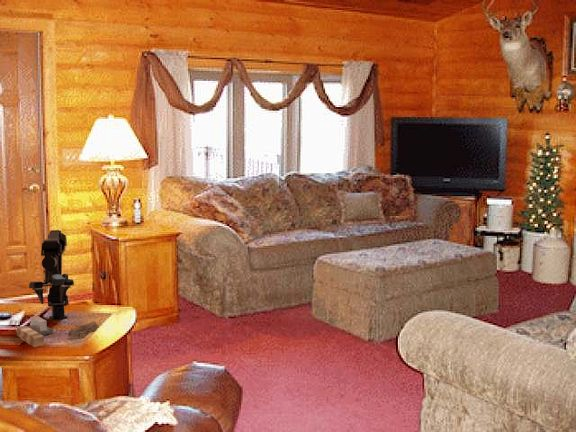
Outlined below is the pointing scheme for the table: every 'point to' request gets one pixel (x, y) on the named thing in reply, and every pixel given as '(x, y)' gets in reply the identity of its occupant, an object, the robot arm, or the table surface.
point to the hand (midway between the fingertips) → (52, 303)
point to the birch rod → (30, 336)
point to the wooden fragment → (82, 331)
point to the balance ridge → (40, 325)
